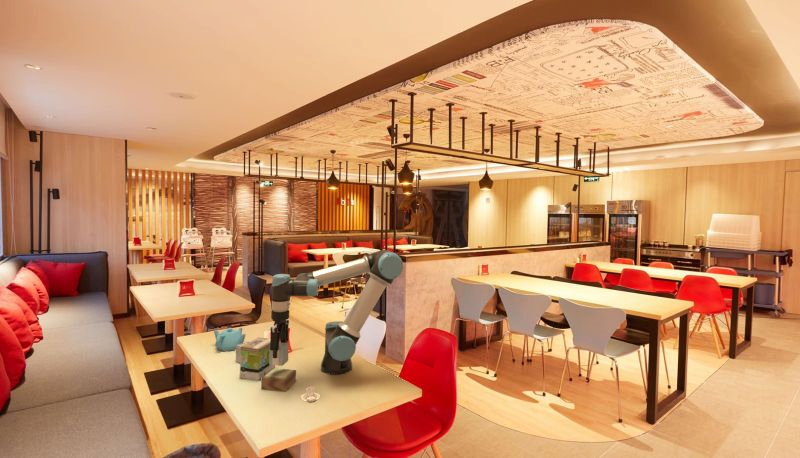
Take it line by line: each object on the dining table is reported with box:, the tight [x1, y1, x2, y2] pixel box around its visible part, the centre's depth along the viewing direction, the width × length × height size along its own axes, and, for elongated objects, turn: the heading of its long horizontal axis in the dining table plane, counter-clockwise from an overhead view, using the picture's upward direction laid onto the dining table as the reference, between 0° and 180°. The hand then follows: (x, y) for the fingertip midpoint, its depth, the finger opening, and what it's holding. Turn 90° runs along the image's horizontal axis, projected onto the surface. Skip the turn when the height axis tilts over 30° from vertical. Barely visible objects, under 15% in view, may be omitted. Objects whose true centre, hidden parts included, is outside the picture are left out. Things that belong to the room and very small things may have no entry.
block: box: [269, 342, 290, 367], centre depth 176 cm, size 6×6×8 cm
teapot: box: [213, 327, 247, 352], centre depth 222 cm, size 15×15×11 cm
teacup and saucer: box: [300, 386, 321, 402], centre depth 166 cm, size 9×8×4 cm
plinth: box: [260, 367, 297, 392], centre depth 177 cm, size 11×11×5 cm
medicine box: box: [235, 341, 251, 364], centre depth 203 cm, size 8×4×9 cm, turn 148°
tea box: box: [239, 336, 276, 381], centre depth 188 cm, size 15×10×15 cm, turn 168°
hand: (279, 361), depth 176 cm, fingers closed on block, 6 cm apart
